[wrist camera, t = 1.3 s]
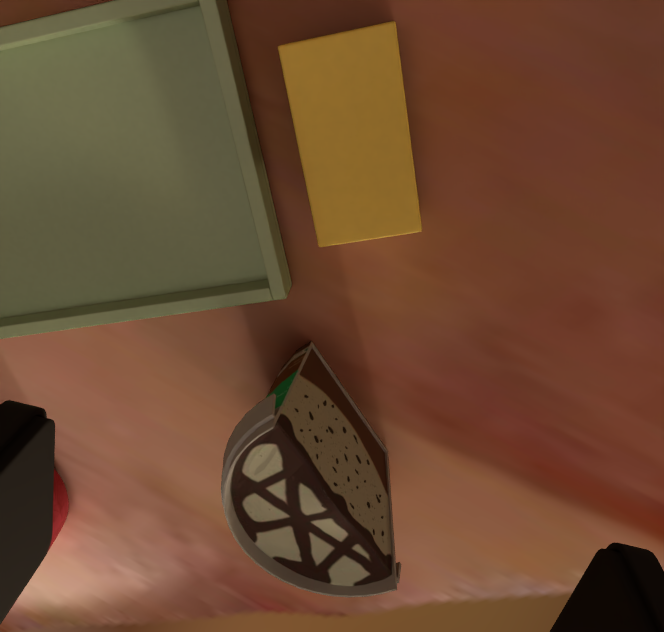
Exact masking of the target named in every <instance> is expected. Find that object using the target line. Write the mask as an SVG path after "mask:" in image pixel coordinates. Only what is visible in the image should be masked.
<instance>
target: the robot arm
mask: <svg viewBox="0 0 664 632" xmlns="http://www.w3.org/2000/svg"><path fill="white" fill-rule="evenodd" d="M54 449H55V423H54V421H53V420H51V419H47V416H46V412H45V410H44V409H43V408H40V407H36V406H32V405H27V404H23V403H19V402H15V401H10V400H9V401H5V402H4V403H2V404H1V405H0V624H1V623H2V621H3V620H4V618H5V617H6V615H7V613H8V612H9V610H10V609H11V607H12V606H13V604H14V603H15V601H16V600H17V598H18V597H19V595H20V594H21V592H22V591H23V589H24V588H25V586H26V585H27V583H28V582H29V580H30V579H31V577H32V576H33V574H34V573H35V571H36V570H37V568H38V567H39V565H40V564H41V562H42V561H43V559H44V557H45V556H46V554H47V552H48V550H49V547H50V544H51V540H52V534H53V493H54ZM550 632H664V571H663V569H662V567H661V565H660V563H659V562H658V560H657V558H656V557H655V555H654V554H653V553H652V552H651V551H649V550H646V549H642V548H638V547H633V546H629V545H625V544H620V543H612V544H610V545H609V546H608V547H607V548H606V549H600V550H598V552H597V553H596V554H595V556H594V558H593V559H592V561H591V563H590V564H589V566H588V568H587V569H586V571H585V573H584V575H583V576H582V578H581V580H580V581H579V583H578V585H577V586H576V588H575V590H574V591H573V593H572V595H571V597H570V598H569V600H568V602H567V603H566V605H565V607H564V609H563V610H562V612H561V613H560V615H559V617H558V619H557V620H556V622H555V624H554V625H553V627H552V629H551V630H550Z"/></svg>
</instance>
